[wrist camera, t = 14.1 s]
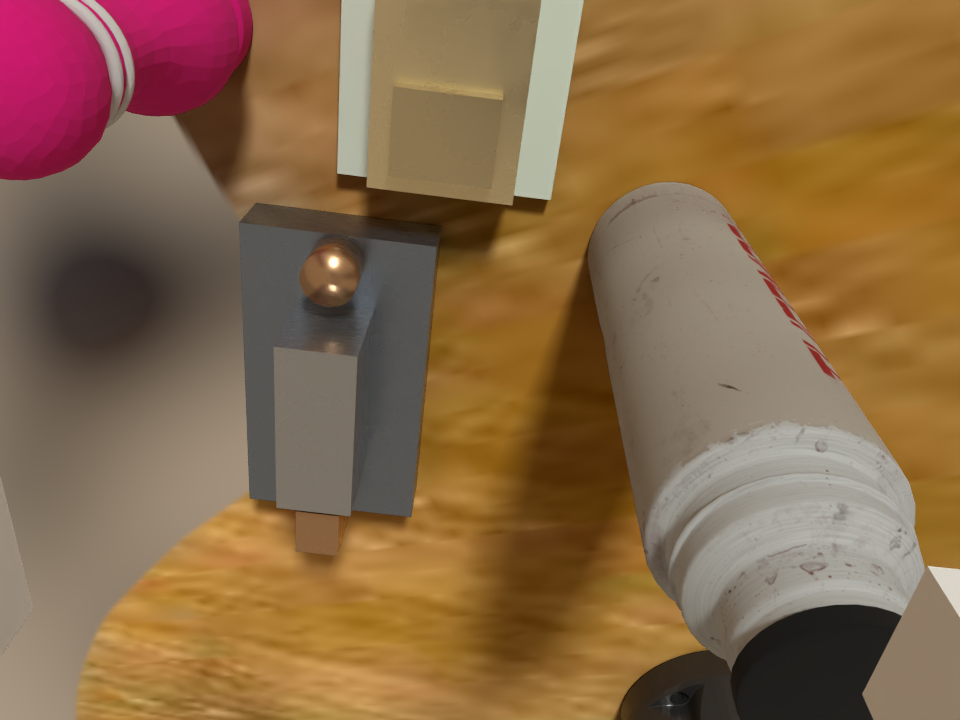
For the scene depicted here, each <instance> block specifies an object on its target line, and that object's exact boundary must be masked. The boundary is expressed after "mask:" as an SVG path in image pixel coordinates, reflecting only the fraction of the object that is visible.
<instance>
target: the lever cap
mask: <svg viewBox="0 0 960 720" xmlns="http://www.w3.org/2000/svg"><path fill="white" fill-rule="evenodd" d="M540 7H541V0H375V10H374V33H373V55H372V77H371V99H370V121H369V143H368V165H367V187H368V188H376V189H384V190H392V191H400V192H408V193H416V194H424V195H432V196H440V197H448V198H456V199H464V200H472V201H480V202H488V203H496V204H504V205H513V198H514V191H515V184H516V177H517V170H518V163H519V156H520V149H521V141H522V134H523V127H524V120H525V113H526V106H527V99H528V92H529V85H530V78H531V71H532V64H533V57H534V50H535V43H536V36H537V29H538V21H539V14H540Z"/></svg>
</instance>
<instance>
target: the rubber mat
mask: <svg viewBox="0 0 960 720" xmlns="http://www.w3.org/2000/svg"><path fill="white" fill-rule="evenodd" d="M583 1H584V0H541V7H540V14H539V21H538V29H537V36H536V43H535V50H534V57H533V64H532V71H531V78H530V85H529V92H528V99H527V106H526V113H525V120H524V127H523V134H522V141H521V149H520V156H519V163H518V170H517V177H516V184H515V191H514V196H521V197H529V198H537V199H545V200H551V194H552V188H553V182H554V176H555V170H556V164H557V158H558V152H559V146H560V140H561V134H562V128H563V122H564V116H565V110H566V104H567V98H568V92H569V86H570V80H571V74H572V68H573V62H574V56H575V50H576V44H577V38H578V32H579V26H580V20H581V14H582V7H583ZM374 10H375V0H342V7H341V45H340V84H339V123H338V162H337V174H345V175H353V176H361V177H367V165H368V143H369V121H370V99H371V77H372V55H373V33H374Z"/></svg>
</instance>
